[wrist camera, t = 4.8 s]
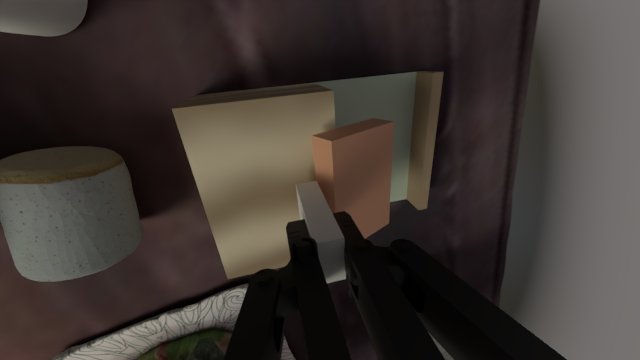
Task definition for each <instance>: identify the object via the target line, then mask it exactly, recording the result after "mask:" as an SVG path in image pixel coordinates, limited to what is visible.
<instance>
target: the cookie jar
mask: <svg viewBox="0 0 640 360" xmlns="http://www.w3.org/2000/svg"><path fill="white" fill-rule="evenodd" d="M248 285H249V283H245V284H242V285H239V286H236V287H233V288H230V289H227V290H223V291H221V292H219V293H217V294H214V295H212V296H210V297H207V298H205V299H203V300H201V301H200V302H198V303H195V304H192V305H187V306H185V307H183V308H178V309H174V310H170V311H167V312H164V313H162V314H159V315H157V316H154V317H152V318H149V319H146V320H144V321H141V322H138V323H136V324H133V325H130V326H128V327H125V328H123V329H120V330H117V331H115V332H112V333H110V334H107V335H104V336H102V337H99V338H97V339H94V340H92V341H89V342H87V343H84V344H81V345H77V346H74V347H71V348H69V349H67V350H65V351H63V352H61V353H60V354H58V355H57V356H56V357H54V358H53V359H52V360H223V359H224V356H225V353H226V350H227V347H228V344H229V341H230V338H231V335H232V332H233V329H234V326H235V323H236V320H237V317H238V314H239V311H240V308H241V306H242V303H243V300H244V297H245V294H246V291H247V288H248ZM281 360H296V359H295V358H294V356H293V354H292V353H291V351H290V349H289V347H288V344H287V341H286V338H285V336H284V341H283V347H282V354H281Z"/></svg>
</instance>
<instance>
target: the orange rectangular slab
mask: <svg viewBox="0 0 640 360" xmlns="http://www.w3.org/2000/svg"><path fill="white" fill-rule="evenodd" d="M393 135H394V121H389V120H382V119H376V118H371V119H368V120H364V121H361V122H357V123H354V124H350V125H347V126H343V127H340V128H336V129H333V130H329V131H326V132H322V133H319V134H315V135H312V144H313V155H314V166H315V177H316V181H317V183H318V185H319V187H320V189H321V191H322V193H323V195H324V197H325V199H326V201H327V203H328V205H329V207H330V209H331V212H332V213H336V212H342V211H345V212H347V213H348V214H350V215H351V217H352V219H353V221H354V222H355V224H356V225H357V227H358V229H359V230H360V232H361V234H362V235H363V237H364V239H365V238H367V237H368V236H370V235H372V234H373V233H375V232H376V231H378V230H379V229H381V228H382V227H384V226H385V225H387V224H389V211H390V192H391V173H392V154H393Z"/></svg>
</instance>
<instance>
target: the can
mask: <svg viewBox="0 0 640 360" xmlns="http://www.w3.org/2000/svg"><path fill="white" fill-rule="evenodd" d="M87 3H88V0H0V32H7V33H16V34H25V35H35V36H60V35H64V34H66V33H69V32H71V31H72V30H74V29H75V28H76V27H78V26H79V24H80V23H81V22H82V20H83V18H84V16H85V14H86V10H87Z"/></svg>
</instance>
